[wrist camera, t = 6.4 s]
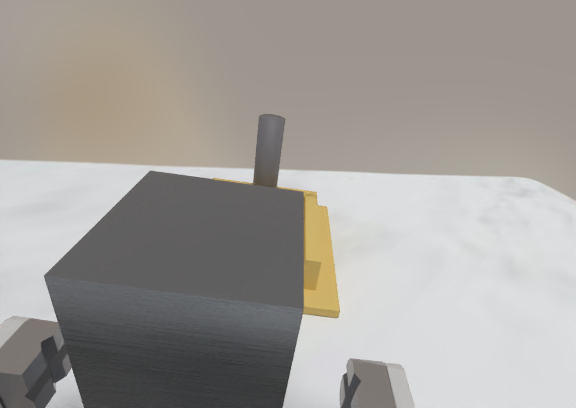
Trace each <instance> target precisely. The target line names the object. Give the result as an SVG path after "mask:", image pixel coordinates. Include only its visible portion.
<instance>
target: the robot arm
mask: <svg viewBox="0 0 576 408" xmlns="http://www.w3.org/2000/svg"><path fill="white" fill-rule="evenodd" d="M346 367H347V373H346V374H344V375H343V377H342V380H341V385H340V408H415V406H414V402H413V399H412V395H411V392H410V389H409V385H408V382H407V378H406V375H405V371H404V368H403V367H402V366H401V365H400V364H392V363H383V362H379V361H370V360H361V359H352V358H350V359H349V360H348V363H347V365H346ZM71 368H72V366H71V363H70V360H69V356H68V353H67V350H66V347H65V343H64V340H63V337H62V334H61V330H60V327H59V324H58V322H53V321H46V320H39V319H33V318H26V317H18V316H12V317H11V318H9V319H7V320H5V321H4V322H3V323H2V324H1V325H0V408H45V407H46V406H47V404H48V403H49V401H50V400H51V398H52V397H53V395H54V394H55V392H56V382H58V381H59V380H61V379H62V378H64V377H65V376H67V374H68V373H69V371H70V369H71Z"/></svg>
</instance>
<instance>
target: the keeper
mask: <svg viewBox="0 0 576 408" xmlns="http://www.w3.org/2000/svg"><path fill="white" fill-rule="evenodd" d="M284 125H285V118H283V117H281V116H277V115H272V114H263V115H260V116H259V124H258V135H257V147H256V158H255V169H254V180H253V183H247V182H239V181H232V180H225V179H217V178H213V179H215V180H222V181H229V182H237V183H244V184H251V185H259V186H266V187H273V188H281V189H288V190H295V191H303V192H304V310H303V314H311V315H319V316H327V317H335V318H338V316H339V312H340V308H339V300H338V292H337V284H336V275H335V267H334V259H333V251H332V243H331V234H330V226H329V218H328V210H327V207H326V206H318V204H317V192H312V191H305V190H298V189H290V188H283V187H277V180H278V172H279V164H280V156H281V148H282V141H283V132H284Z"/></svg>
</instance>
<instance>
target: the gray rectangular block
mask: <svg viewBox="0 0 576 408" xmlns="http://www.w3.org/2000/svg"><path fill="white" fill-rule="evenodd" d="M44 278H45V281H46V284H47V288H48V291H49V294H50V298H51V301H52V304H53V307H54V311H55V314H56V317H57V320H58V324H59V327H60V330H61V334H62V337H63V340H64V343H65V347H66V350H67V353H68V356H69V360H70V363H71V366H72V370H73V373H74V376H75V379H76V383H77V386H78V389H79V392H80V396H81V399H82V402H83V406H84V408H282V407H283V403H284V398H285V393H286V389H287V384H288V379H289V375H290V370H291V366H292V361H293V356H294V352H295V347H296V342H297V338H298V333H299V329H300V324H301V319H302V315H303V310H304V192H303V191H295V190H288V189H281V188H273V187H266V186H259V185H251V184H244V183H237V182H229V181H222V180H215V179H207V178H200V177H193V176H185V175H178V174H171V173H163V172H156V171H150V172H148V173H147V174H146V175H145V176H144V177H143V178H142V179H141V180H140V181H139V182H138V183H137V184H136V185H135V186H134V187H133V188H132V189H131V190H130V191H129V192H128V193H127V194H126V195H125V196H124V197H123V198H122V199H121V200H120V201H119V202H118V203H117V204H116V205H115V206H114V207H113V208H112V209H111V210H110V211H109V212H108V213H107V214H106V215H105V216H104V217H103V218H102V219H101V220H100V221H99V222H98V223H97V224H96V225H95V226H94V227H93V228H92V229H91V230H90V231H89V232H88V233H87V234H86V235H85V236H84V237H83V238H82V239H81V240H80V241H79V242H78V243H77V244H76V245H75V246H74V247H73V248H72V249H71V250H70V251H69V252H68V253H67V254H66V255H65V256H64V257H63V258H62V259H61V260H59V261H58V262H57V263H56V264H55V265H54V266H53V267H52V268H51V269H50V270H49V271H48V272H47V273H46V274H45V275H44Z"/></svg>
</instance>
